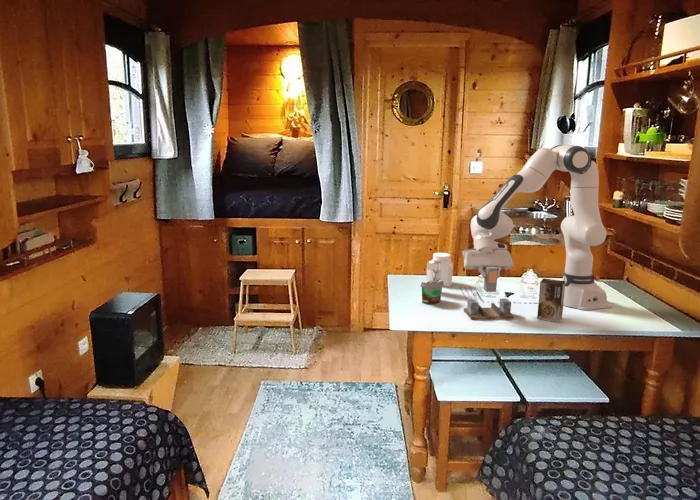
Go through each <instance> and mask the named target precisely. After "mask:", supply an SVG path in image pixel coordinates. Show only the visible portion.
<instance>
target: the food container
mask: <svg viewBox="0 0 700 500" xmlns="http://www.w3.org/2000/svg"><path fill="white" fill-rule="evenodd" d="M420 287H421V303H422V304H424V305H425V304H426V305H438V304H440V303H441V298H442V292H443V291H442V290H443V287H445V286H444V282H443V279H441V278H438V280H435V281H429V282H428V281H427V282H425V281H421V284H420Z"/></svg>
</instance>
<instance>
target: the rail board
mask: <svg viewBox="0 0 700 500" xmlns="http://www.w3.org/2000/svg"><path fill="white" fill-rule="evenodd" d="M511 308H512V301H511V300H510V299H509V298H499V306H497V305H496V304H495V303H494V302H491V304H490V307H482V306H481V305H480V304H479V302H478V301H477V299H475V298H468V299H467V305H466V307H464V308H463V312H464V313H465V314H466V315H467V316H468V318H469V319H470V320H472V321H476V320H485V321H486V320H514V319H515V315H513V314H512V312H511V311H512V310H511Z"/></svg>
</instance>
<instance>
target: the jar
mask: <svg viewBox="0 0 700 500" xmlns="http://www.w3.org/2000/svg"><path fill="white" fill-rule="evenodd" d="M431 260H438V261H441V262H442V263H441V264H442V272H441V279H443V282H444V286H443V287H451V286H452V285H453V266H454V264H453V262H452V261H451V254H450V253H447V252H435V253H433V255H432V259H431Z"/></svg>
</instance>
